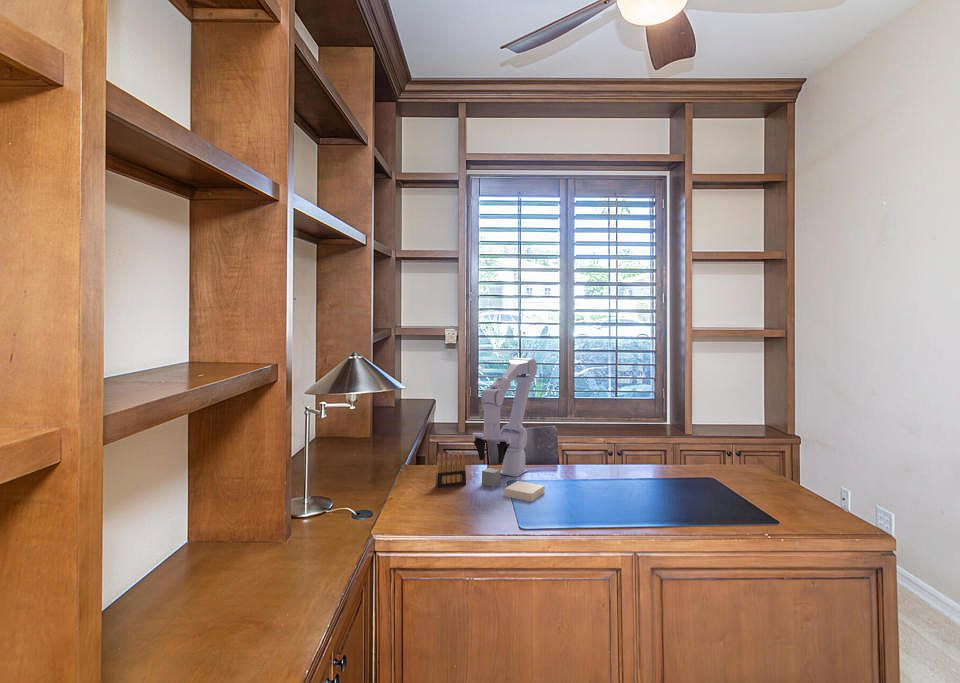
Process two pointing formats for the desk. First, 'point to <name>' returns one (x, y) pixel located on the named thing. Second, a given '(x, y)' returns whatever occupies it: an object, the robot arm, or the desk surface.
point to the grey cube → (491, 477)
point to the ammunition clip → (450, 470)
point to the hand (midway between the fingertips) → (491, 461)
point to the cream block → (524, 491)
